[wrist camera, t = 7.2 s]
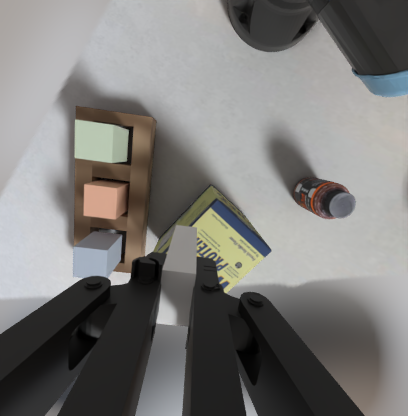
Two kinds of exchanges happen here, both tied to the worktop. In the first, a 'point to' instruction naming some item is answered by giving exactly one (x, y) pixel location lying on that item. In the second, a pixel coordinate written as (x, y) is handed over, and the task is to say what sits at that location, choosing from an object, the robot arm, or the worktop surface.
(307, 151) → the worktop surface
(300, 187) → the supplement bottle
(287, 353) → the robot arm
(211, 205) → the protein box
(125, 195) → the peach rectangular prism
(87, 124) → the sage rectangular block
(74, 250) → the slate upright cuboid
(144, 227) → the walnut board
